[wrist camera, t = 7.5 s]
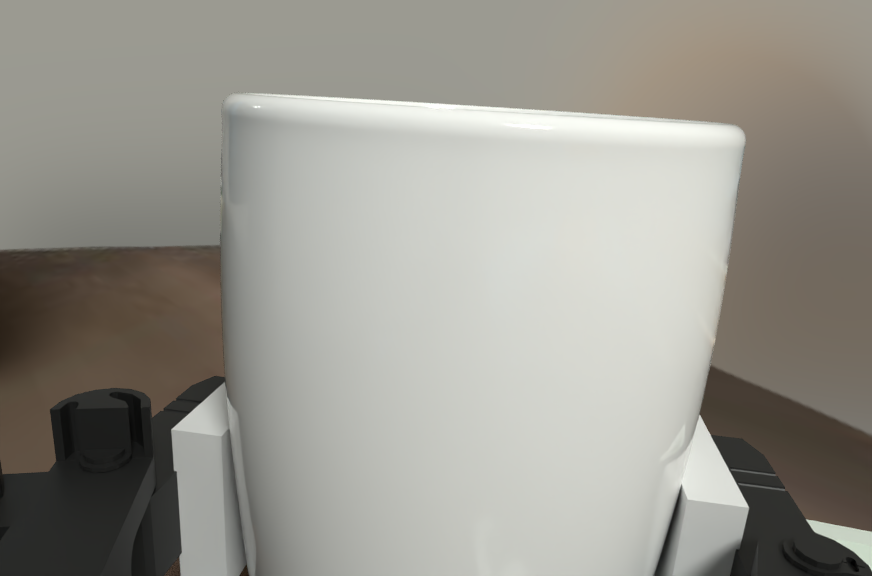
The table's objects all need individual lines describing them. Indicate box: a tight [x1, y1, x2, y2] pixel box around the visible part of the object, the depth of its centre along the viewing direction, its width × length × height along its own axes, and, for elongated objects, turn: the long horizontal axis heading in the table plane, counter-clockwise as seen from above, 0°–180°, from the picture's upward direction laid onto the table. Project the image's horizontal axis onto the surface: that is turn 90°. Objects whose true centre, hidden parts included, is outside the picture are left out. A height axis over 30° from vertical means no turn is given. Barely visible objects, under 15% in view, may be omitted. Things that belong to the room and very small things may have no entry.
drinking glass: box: [220, 93, 746, 576], centre depth 11 cm, size 7×7×15 cm
